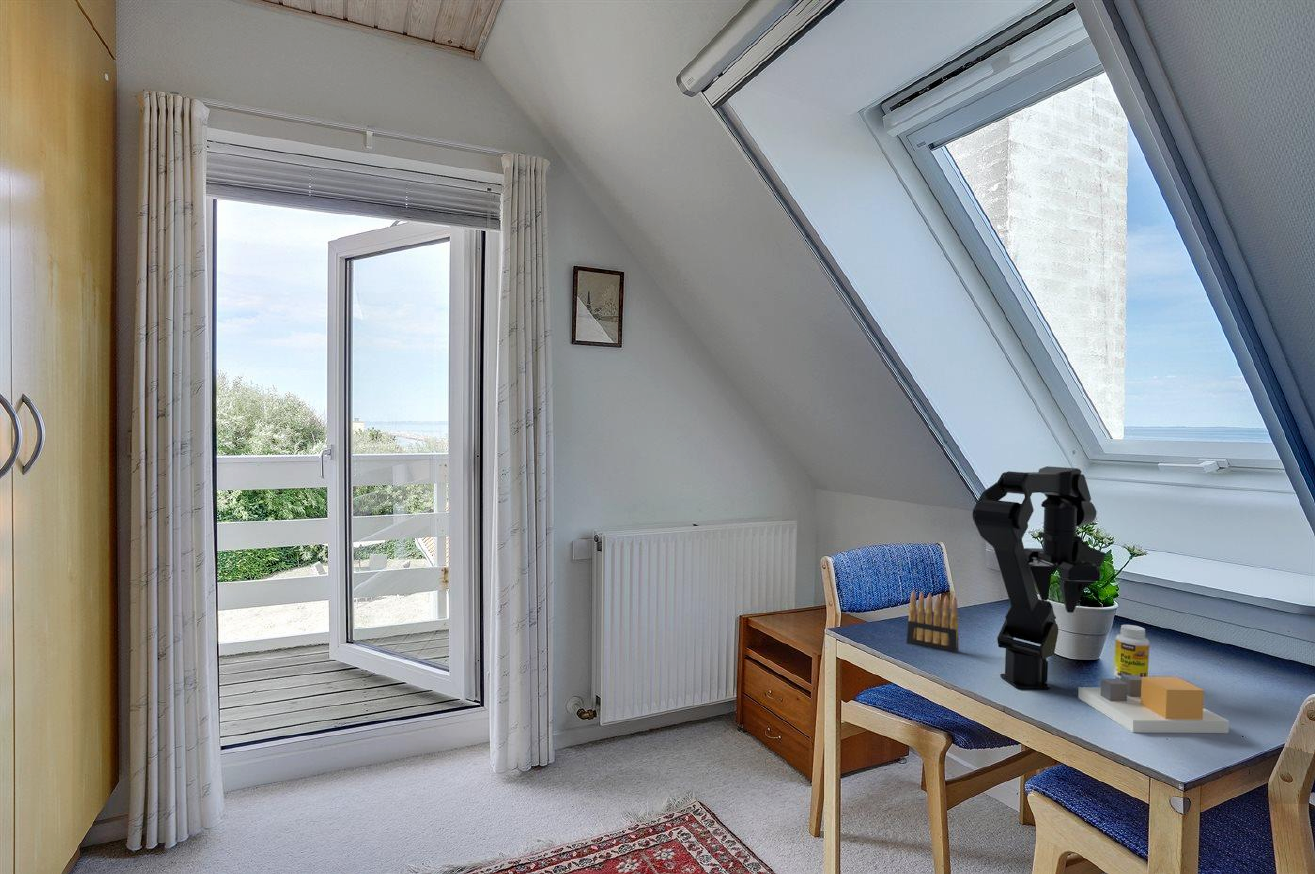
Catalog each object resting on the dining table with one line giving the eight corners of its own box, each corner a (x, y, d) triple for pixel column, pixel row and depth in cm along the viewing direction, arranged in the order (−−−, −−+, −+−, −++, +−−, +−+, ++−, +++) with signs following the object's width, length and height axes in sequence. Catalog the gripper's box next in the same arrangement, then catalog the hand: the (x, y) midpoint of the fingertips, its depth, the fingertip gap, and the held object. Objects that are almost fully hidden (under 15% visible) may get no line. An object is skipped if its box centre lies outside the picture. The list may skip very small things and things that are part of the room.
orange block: (1165, 718, 115) (1166, 689, 115) (1140, 704, 121) (1141, 676, 121) (1202, 719, 115) (1203, 689, 115) (1176, 704, 121) (1177, 677, 121)
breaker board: (1132, 732, 114) (1134, 701, 114) (1078, 697, 128) (1079, 670, 128) (1228, 733, 115) (1229, 702, 115) (1163, 698, 129) (1165, 671, 129)
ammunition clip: (958, 651, 153) (960, 596, 153) (956, 653, 152) (958, 598, 151) (908, 641, 160) (910, 588, 159) (906, 643, 158) (907, 589, 158)
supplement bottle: (1114, 680, 138) (1117, 628, 137) (1112, 671, 142) (1115, 621, 142) (1149, 686, 135) (1151, 633, 135) (1146, 677, 140) (1148, 626, 139)
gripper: (1130, 538, 132) (1127, 620, 133) (1072, 523, 151) (1069, 595, 152) (1071, 536, 132) (1068, 619, 133) (1020, 522, 151) (1017, 594, 152)
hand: (1056, 606), depth 142 cm, fingers open, 9 cm apart
